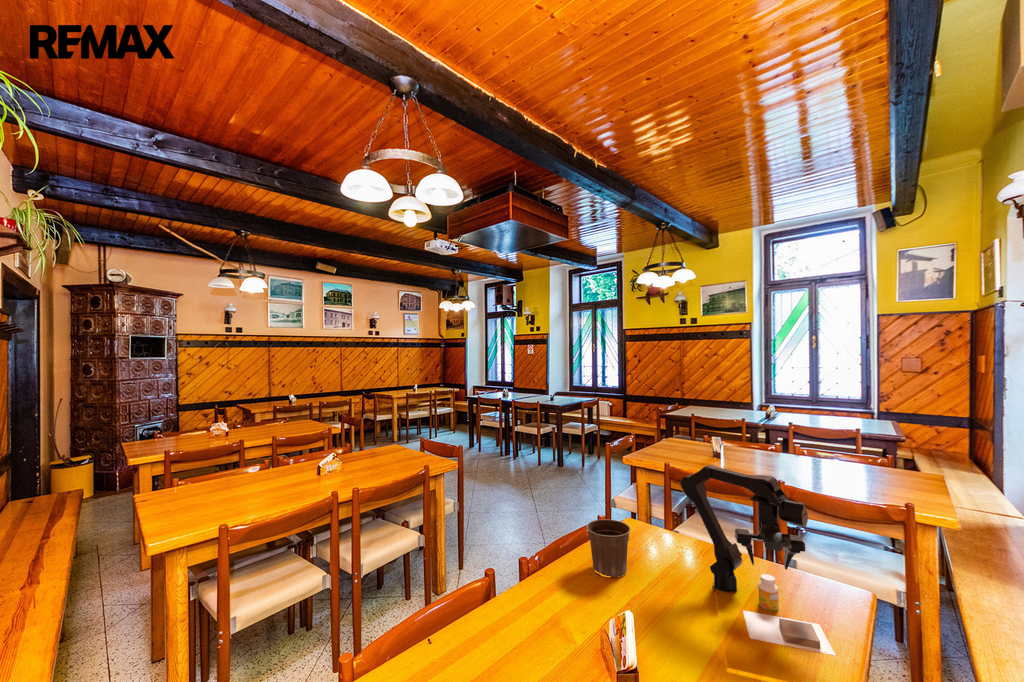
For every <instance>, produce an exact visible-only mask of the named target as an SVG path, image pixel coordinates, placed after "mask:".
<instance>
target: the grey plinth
mask: <svg viewBox="0 0 1024 682" xmlns="http://www.w3.org/2000/svg"><path fill="white" fill-rule="evenodd" d="M779 625H780V628H781V631H782V633H783V636H784V639H785V641H786V642H787V643H792V644H797V645H802V646H807V647H812V648H817V649H820V640H819V638H818V636H817V634H816V632H815V630H814V628H813V626H812V624H808V623H803V622H797V621H792V620H786V619H781V618H779Z"/></svg>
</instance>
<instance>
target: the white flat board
mask: <svg viewBox="0 0 1024 682" xmlns="http://www.w3.org/2000/svg"><path fill="white" fill-rule="evenodd" d="M742 613H743V617H744V621H745V624H746V629H747V632H748V636H749V637H748V638H749V639H752V640H756V641H762V642H767V643H770V644H777V645H781V646H787V647H791V648H796V649H800V650H801V649H802V650H805V651H810V652H815V653H820V654H826V655H831V656H835V657H836V652H835V651H834V649H833V648H832V646H831V644H830V642H829V640H828V637H827V636H826V635H825V632H824V631H823V630H824V629H823V628H822V627H821V625H820V624H819V623H814V622H809V621H803V620H797V619H793V618H788V617H781V616H777V615H776V616H775V615H770V614H766V613H759V612H753V611H748V610H742ZM779 618H781V619H786V620H792V621H797V622H803V623H808V624H812V626H813V628H814V630H815V632H816V634H817V636H818V638H819V640H820V649H817V648H812V647H807V646H802V645H797V644H792V643H787V642H786V641H785V639H784V636H783V633H782V631H781V628H780V625H779Z"/></svg>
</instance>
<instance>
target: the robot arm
mask: <svg viewBox="0 0 1024 682" xmlns="http://www.w3.org/2000/svg"><path fill="white" fill-rule="evenodd" d="M710 479H713V480H715V481H719V482H723V483H727V484H730V485H734V486H737V487H740V488H744V489H746V490H748V491H750V492H751V493H752V494H754V495H753V496H752V497H750V498H749V500H750V501H753V502H755V503H756V502H757V534H755V533H750V531H749V529H745V528H738V527H737V528H735V530H734V537H735V538H734V539H735V540H736V542H735V543H732V542H730V540H729V539H728V538H727V537H726V534H725V532H724V530H723V529H722V526H721V524H720V522H719V520H718V518H717V516H716V513H715V512H714V510H713V508H712V506H711V504H710V501H709V500H708V497H707V487H706V484H705V483H707V482H708V481H709V480H710ZM679 484H680V488H681V489H682V491H683V493H684V494H685V496H686V497H687V498H688V499H689V500H691V502H692V503H693V504H694V506H695V508H696V510H697V512H698V515H699V516H700V518H701V520H702V522H703V523H702V524H703V525H704V527H705V529H706V531H707V533H708V535H709V537H710V540H711V542H712V545H713V553H714V557H715V560H716V561H715V562H714V563H712V564H711V565H710V566H709V569H710V572H711V574H713V583H712V584H714V585H713V589H714V593H716V590H719V591H720V592H724V593H732V592H734V593H735V592H736V593H737V592H738V581H737V580H738V579H737V576H736V575H735V572H734V571H736V570H737V569H738V568H739V567H740V566H741V565H742V562H743V557H742V556H743V554H742V553H741V551H740V549H739V547H738V545H737V543H738V544H741V546H742V547H745V549H746V550H747V554H748V556H749V559H750V562H751V565H752V566H754V565H755V558H754V554H753V553H754V552H753V544H752V542H753V541H754V542H762V543H763V544H764V548H765V549H767V550H768V551H777V552H783V551H784V553H783V567H784V569H785V570H786V571H787V570H788V568H789V566H790V563H791V561H792V559H793V557H794V555H796V554H800V553H801V552H804V553H805V552H806V544H805V542H804V541H803V539H802V538H801V537H800V536H799V535H798V534H797V535H796V534H795V535H794V534H790V533H783V532H781V529H780V524H779V521H780V520H781V521H782V522H783V523H786V524H787V523H788V524H791V525H795V526H799V527H803V528H806V527H807V525H808V520H809V513H808V509H807V508H806V503H805V502H801V501H794V500H789V497H788V495H787V494H786V493H785V492H784V491H783V489H782V487H781V484H780V482H779V481H778V479H777V478H776V477H774V476H772V475H764V474H746V473H743V472H738V471H734V470H731V469H727V468H722V467H718V466H716V465H713V464H708V465H706V466H703V467H702V468H701V469H699V470H698V471H697V472H695V473H692V474H689V475H687V476H684V477H683V478H681V480H680V483H679Z"/></svg>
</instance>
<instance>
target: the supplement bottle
mask: <svg viewBox="0 0 1024 682" xmlns="http://www.w3.org/2000/svg"><path fill="white" fill-rule="evenodd" d="M757 587H758V605H759V606H760V608H762V609H764V610H767V611H770V612H776V611H779V609H780V603H779V587H778V586H777V585H776V578H775V576H773V575H771V574H768V573H767V574H766V573H765V574H764V573H763V574H760V581H759V582H758V585H757Z"/></svg>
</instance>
